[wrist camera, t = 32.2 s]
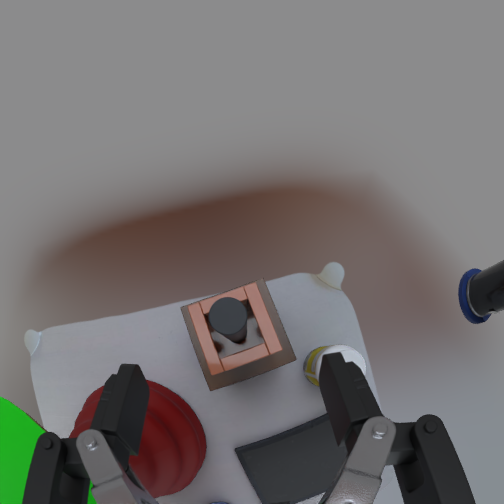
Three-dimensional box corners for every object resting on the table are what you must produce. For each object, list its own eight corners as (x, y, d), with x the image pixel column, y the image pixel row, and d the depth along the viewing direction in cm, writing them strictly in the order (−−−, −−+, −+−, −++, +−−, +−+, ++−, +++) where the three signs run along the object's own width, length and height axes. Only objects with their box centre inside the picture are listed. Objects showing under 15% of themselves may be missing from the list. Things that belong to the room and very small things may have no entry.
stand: (257, 301, 41) (263, 277, 28) (279, 356, 38) (296, 359, 25) (201, 321, 40) (180, 307, 27) (222, 377, 37) (210, 391, 24)
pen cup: (253, 300, 27) (255, 281, 20) (273, 350, 25) (283, 350, 18) (202, 318, 26) (186, 306, 19) (221, 369, 25) (211, 375, 18)
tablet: (344, 404, 36) (347, 405, 34) (368, 467, 31) (370, 469, 30) (234, 448, 33) (234, 450, 32) (266, 509, 28) (267, 512, 27)
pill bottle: (346, 377, 37) (377, 383, 27) (309, 391, 36) (330, 403, 26) (335, 340, 39) (364, 335, 29) (298, 353, 38) (316, 354, 28)
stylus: (242, 322, 26) (239, 291, 13) (249, 339, 25) (253, 327, 12) (225, 328, 26) (203, 304, 13) (231, 345, 25) (216, 340, 12)
